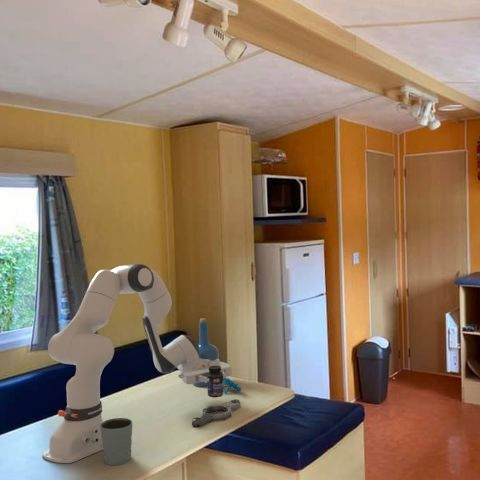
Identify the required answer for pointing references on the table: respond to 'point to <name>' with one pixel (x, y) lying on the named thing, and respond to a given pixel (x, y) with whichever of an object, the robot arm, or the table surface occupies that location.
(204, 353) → the wine bottle
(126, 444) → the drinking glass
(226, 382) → the blue jointed connector toy
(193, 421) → the octagon ring handle
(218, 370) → the pill bottle
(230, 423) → the table surface
